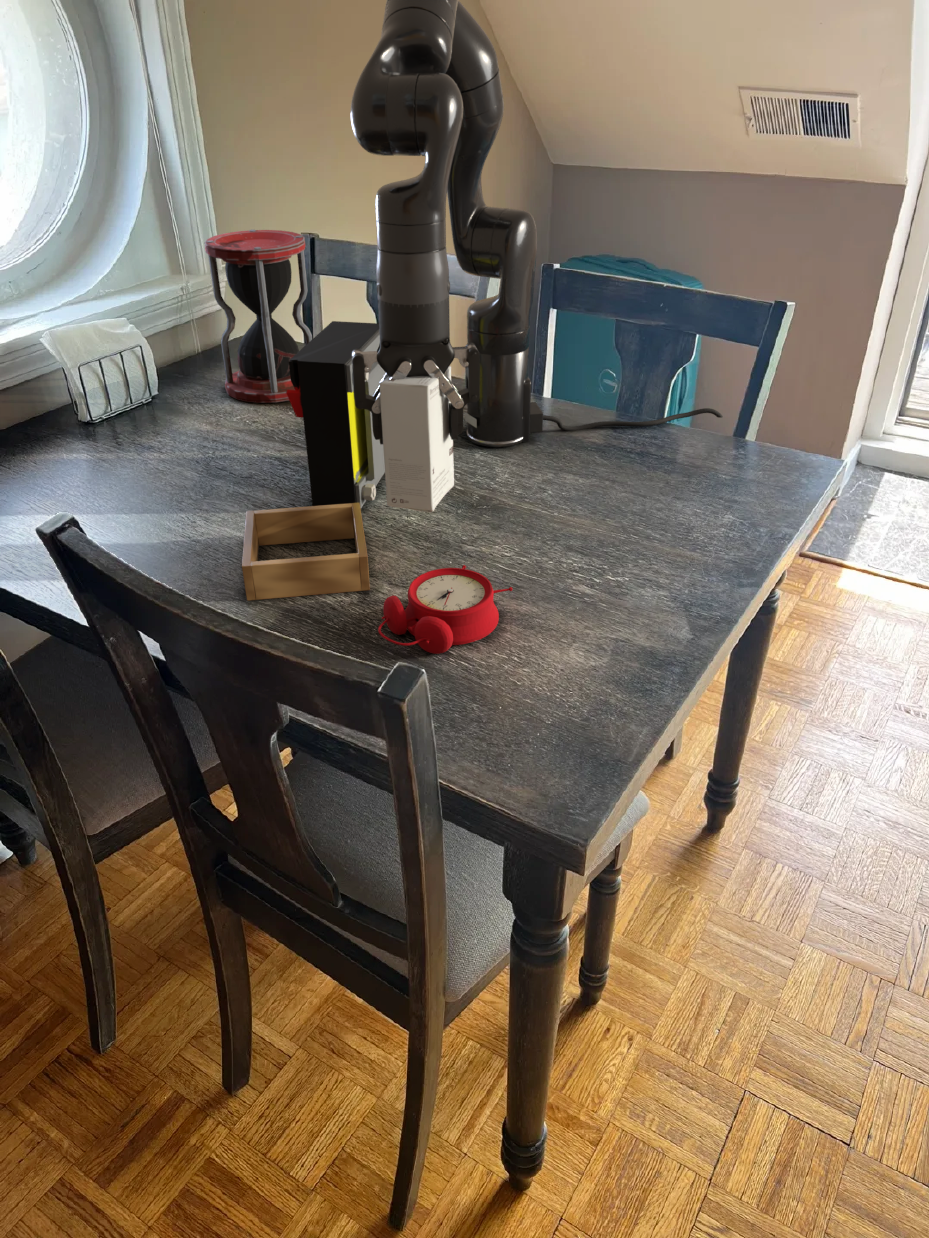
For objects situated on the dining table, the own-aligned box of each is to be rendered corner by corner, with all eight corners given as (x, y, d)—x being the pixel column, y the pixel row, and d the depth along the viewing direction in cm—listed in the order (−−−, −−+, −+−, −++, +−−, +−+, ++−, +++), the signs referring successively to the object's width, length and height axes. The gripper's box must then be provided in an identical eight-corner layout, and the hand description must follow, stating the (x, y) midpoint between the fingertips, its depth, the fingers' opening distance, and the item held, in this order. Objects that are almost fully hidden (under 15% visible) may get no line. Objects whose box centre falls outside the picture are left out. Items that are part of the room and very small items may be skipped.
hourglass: (224, 377, 172) (203, 231, 158) (313, 370, 175) (299, 226, 162) (227, 407, 159) (204, 252, 145) (323, 399, 162) (309, 246, 148)
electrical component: (371, 512, 126) (361, 364, 115) (299, 506, 128) (282, 360, 117) (404, 460, 140) (398, 324, 129) (339, 455, 142) (327, 321, 131)
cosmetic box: (432, 514, 107) (430, 387, 99) (383, 507, 109) (376, 382, 101) (455, 484, 114) (454, 363, 106) (408, 478, 115) (404, 358, 107)
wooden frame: (361, 534, 121) (359, 502, 118) (370, 590, 109) (367, 556, 107) (250, 542, 119) (246, 510, 116) (247, 600, 107) (241, 566, 105)
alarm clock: (525, 586, 102) (430, 614, 92) (516, 638, 105) (421, 671, 94) (456, 554, 108) (359, 577, 98) (448, 604, 111) (352, 631, 100)
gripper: (474, 281, 103) (474, 423, 112) (343, 286, 101) (353, 431, 110) (486, 298, 96) (485, 448, 105) (346, 304, 95) (357, 456, 103)
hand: (418, 439), depth 107 cm, fingers closed on cosmetic box, 7 cm apart
